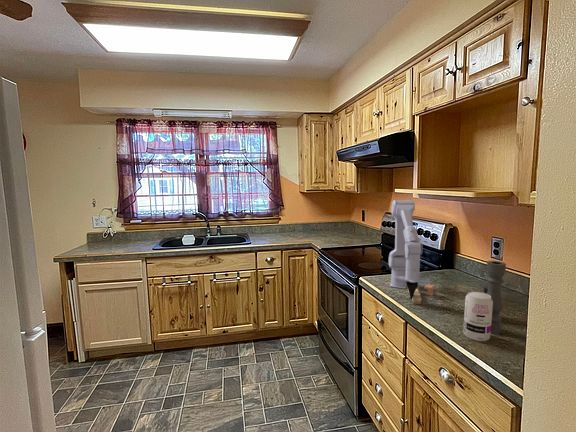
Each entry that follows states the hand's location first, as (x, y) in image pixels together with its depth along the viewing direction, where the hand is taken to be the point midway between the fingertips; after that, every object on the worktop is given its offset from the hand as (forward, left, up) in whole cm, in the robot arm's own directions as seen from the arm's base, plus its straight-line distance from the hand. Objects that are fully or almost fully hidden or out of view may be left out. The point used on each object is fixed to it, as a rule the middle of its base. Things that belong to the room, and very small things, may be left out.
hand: (411, 298), depth 144 cm
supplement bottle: (+2, +29, -2) cm, 29 cm away
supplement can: (+22, +24, -2) cm, 33 cm away
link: (-6, +1, -1) cm, 7 cm away
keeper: (-12, +6, -2) cm, 13 cm away
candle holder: (+14, +29, -2) cm, 33 cm away
